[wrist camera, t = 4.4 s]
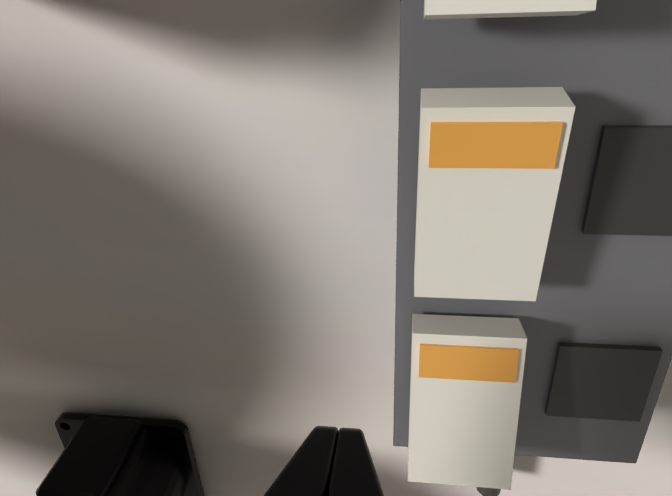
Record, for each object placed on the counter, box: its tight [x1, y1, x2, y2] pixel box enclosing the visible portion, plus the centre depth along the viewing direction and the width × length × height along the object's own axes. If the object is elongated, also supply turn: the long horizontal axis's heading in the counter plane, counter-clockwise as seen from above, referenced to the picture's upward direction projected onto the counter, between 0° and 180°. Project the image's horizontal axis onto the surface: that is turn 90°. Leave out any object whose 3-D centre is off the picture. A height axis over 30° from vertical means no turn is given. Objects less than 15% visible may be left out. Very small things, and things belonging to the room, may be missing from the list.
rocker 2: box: [408, 314, 527, 490], centre depth 16 cm, size 5×3×1 cm, turn 3°
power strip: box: [393, 0, 672, 496], centre depth 16 cm, size 25×8×4 cm, turn 2°
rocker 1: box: [414, 87, 575, 301], centre depth 13 cm, size 5×3×1 cm, turn 2°
